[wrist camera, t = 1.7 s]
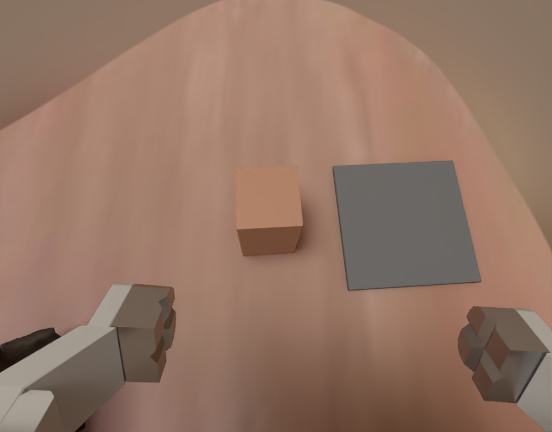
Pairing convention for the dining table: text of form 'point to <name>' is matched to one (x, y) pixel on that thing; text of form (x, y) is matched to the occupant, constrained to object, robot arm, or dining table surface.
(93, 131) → the dining table surface
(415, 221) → the grey mat
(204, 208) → the dining table surface
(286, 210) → the tan rectangular pillar
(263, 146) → the dining table surface
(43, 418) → the robot arm
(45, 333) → the dark brown rock
